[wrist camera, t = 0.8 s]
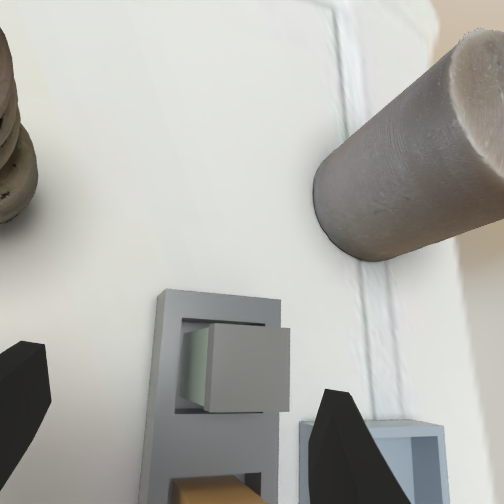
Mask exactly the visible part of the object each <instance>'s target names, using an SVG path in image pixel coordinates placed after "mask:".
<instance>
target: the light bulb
mask: <svg viewBox="0 0 504 504" xmlns="http://www.w3.org/2000/svg"><path fill="white" fill-rule="evenodd" d="M37 182H38V169H37V163H36V155H35V151H34V147H33V144H32V141H31V139H30V136H29V134H28V132H27V131H26V130H25V128H24V127H23V125H22V124H21V123H20V112H19V108H18V96H17V89H16V83H15V80H14V73H13V63H12V56H11V53H10V49H9V46H8V43H7V40H6V37H5V34H4V33H3V31H2V29H1V28H0V223H7V222H9V221H11V220H12V219H13V218H15V217H16V216H17V215H18V214H19V213H20V212H21V211H22V210H23V209H24V208H25V207H26V206H27V205H28V204H29V202H30V200H31V199H32V197H33V195H34V193H35V190H36V187H37Z"/></svg>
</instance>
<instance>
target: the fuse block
mask: <svg viewBox="0 0 504 504" xmlns="http://www.w3.org/2000/svg"><path fill="white" fill-rule="evenodd" d="M213 323H221V324H236V325H250V326H265V327H279V328H281V300H278V299H268V298H257V297H247V296H236V295H226V294H215V293H205V292H194V291H184V290H173V289H166V290H164V291H163V292H162V293H161V294H160V295H158V299H157V310H156V320H155V330H154V341H153V351H152V362H151V372H150V383H149V393H148V404H147V414H146V425H145V435H144V446H143V456H142V467H141V477H140V488H139V498H138V504H171V494H172V481H173V479H186V478H201V477H216V476H232V475H234V476H235V477H236V478H238V479H239V480H240V481H241V482H243V483H244V484H245V485H246V486H248V487H249V488H250V489H251V490H253V491H254V492H255V493H256V494H257V495H259V496H260V497H261V498H262V499H264V500H265V501H266V502H267V503H269V504H278V454H279V412H208V411H206V410H204V406H202V405H199V404H197V403H195V402H192V401H190V400H188V399H185V398H183V397H180V396H179V390H180V377H181V364H182V351H183V338H184V333H188V332H192V331H196V330H200V329H204V328H208V327H209V324H213Z"/></svg>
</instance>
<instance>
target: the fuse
mask: <svg viewBox="0 0 504 504" xmlns="http://www.w3.org/2000/svg"><path fill="white" fill-rule="evenodd" d="M289 393H290V328H279V327H265V326H250V325H236V324H221V323H213V324H209V327H208V328H204V329H200V330H196V331H192V332H188V333H184V338H183V351H182V364H181V377H180V390H179V396H180V397H183V398H185V399H188V400H190V401H192V402H195V403H197V404H199V405H202V406H204V410H206V411H208V412H289Z"/></svg>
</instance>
